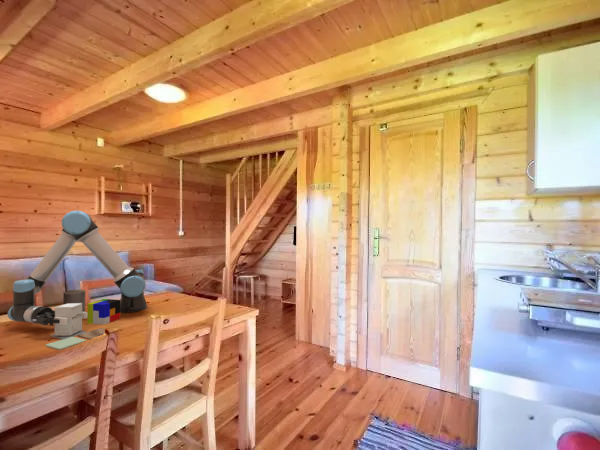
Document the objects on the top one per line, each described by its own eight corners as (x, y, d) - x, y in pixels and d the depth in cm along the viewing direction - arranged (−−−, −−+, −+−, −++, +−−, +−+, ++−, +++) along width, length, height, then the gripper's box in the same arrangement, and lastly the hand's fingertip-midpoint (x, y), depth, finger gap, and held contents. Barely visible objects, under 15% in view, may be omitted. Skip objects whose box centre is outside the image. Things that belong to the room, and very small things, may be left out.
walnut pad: (100, 329, 143) (100, 328, 143) (114, 332, 139) (114, 331, 139) (77, 336, 134) (77, 335, 134) (91, 339, 130) (91, 338, 130)
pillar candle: (58, 318, 161) (59, 290, 161) (78, 313, 170) (78, 286, 170) (70, 320, 157) (70, 291, 157) (89, 315, 166) (89, 288, 166)
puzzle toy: (104, 324, 150) (104, 304, 150) (87, 323, 152) (87, 303, 152) (120, 318, 160) (120, 299, 160) (104, 317, 162) (104, 298, 162)
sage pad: (72, 337, 132) (72, 336, 132) (86, 341, 128) (86, 340, 128) (45, 346, 123) (45, 344, 123) (59, 350, 119) (59, 348, 119)
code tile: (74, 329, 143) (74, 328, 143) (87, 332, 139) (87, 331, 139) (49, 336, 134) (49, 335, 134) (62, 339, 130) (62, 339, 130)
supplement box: (70, 335, 133) (70, 307, 133) (54, 335, 133) (54, 307, 133) (82, 330, 140) (82, 302, 140) (66, 330, 140) (66, 302, 140)
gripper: (62, 316, 152) (98, 319, 146) (12, 330, 131) (51, 335, 125) (62, 301, 152) (98, 303, 146) (12, 313, 131) (51, 316, 125)
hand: (76, 318), depth 136 cm, fingers closed on supplement box, 9 cm apart
